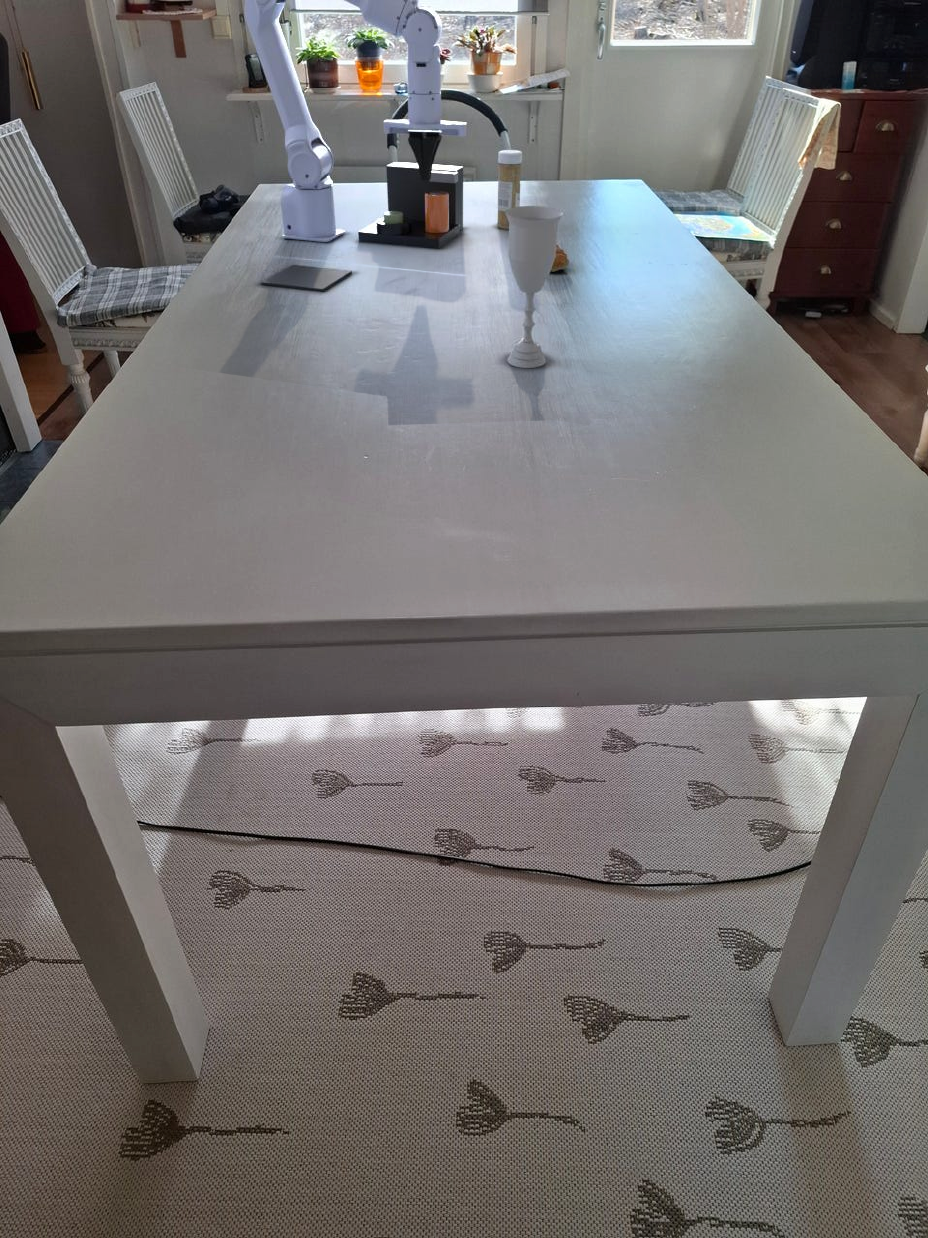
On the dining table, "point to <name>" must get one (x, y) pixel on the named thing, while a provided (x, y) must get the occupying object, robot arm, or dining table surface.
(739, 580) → the dining table surface
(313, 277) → the mat
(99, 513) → the dining table surface
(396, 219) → the button
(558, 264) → the pastry
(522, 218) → the chalice
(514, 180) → the sprinkles bottle
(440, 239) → the coffee maker base
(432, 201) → the espresso cup
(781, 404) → the dining table surface
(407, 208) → the coffee maker column
